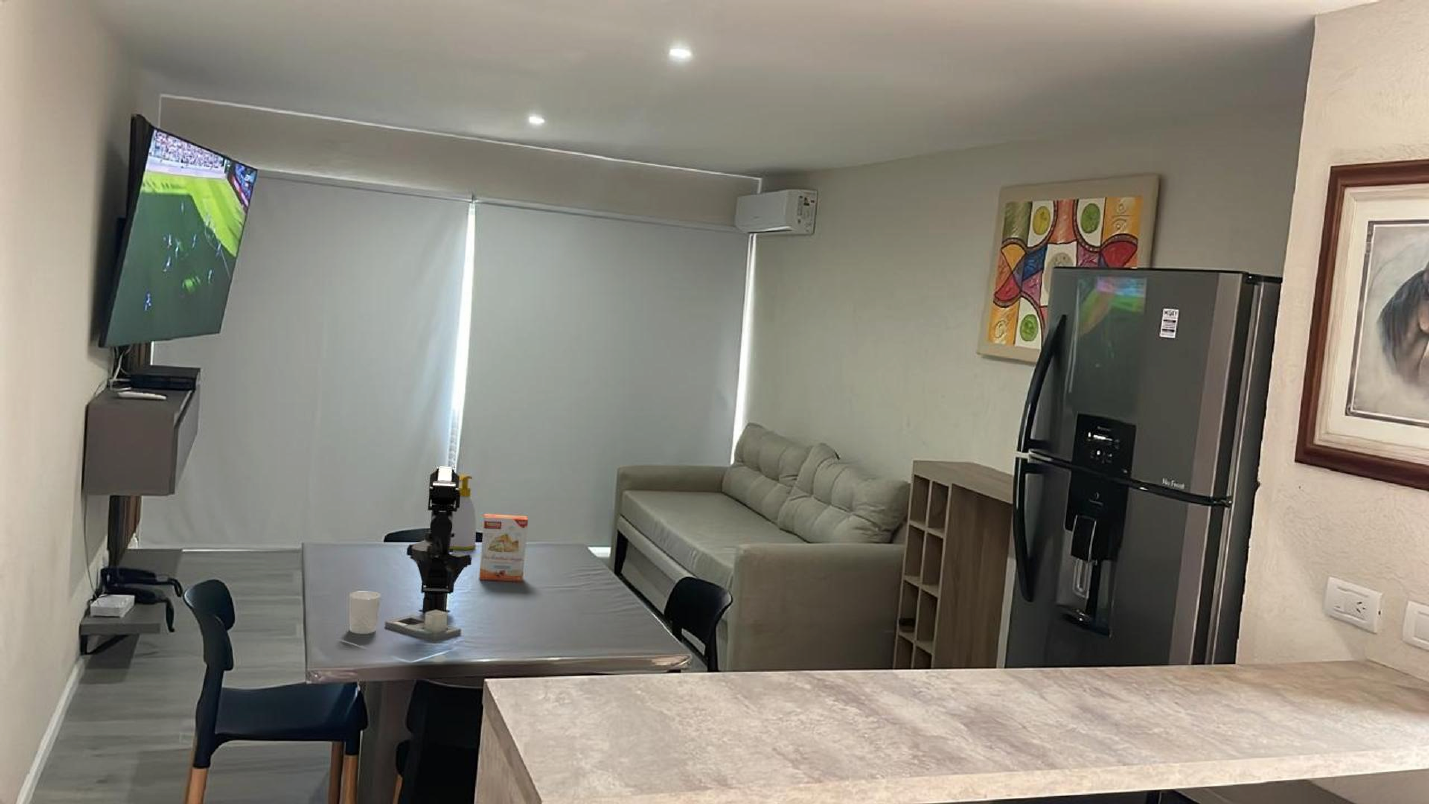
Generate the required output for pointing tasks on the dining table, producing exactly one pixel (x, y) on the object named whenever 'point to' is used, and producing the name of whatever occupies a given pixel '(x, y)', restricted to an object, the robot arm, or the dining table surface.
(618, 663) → the dining table surface
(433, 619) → the plug
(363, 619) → the white cup
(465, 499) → the soap bottle
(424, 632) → the gray socket board
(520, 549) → the cracker box
